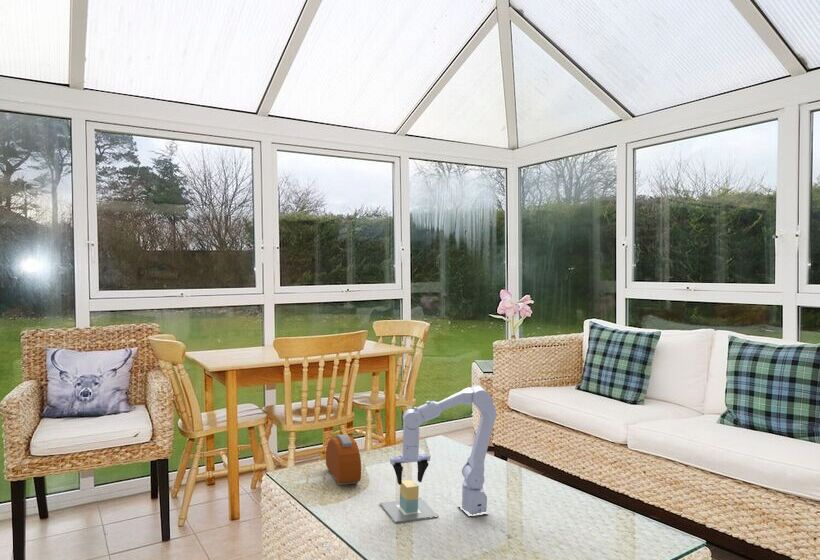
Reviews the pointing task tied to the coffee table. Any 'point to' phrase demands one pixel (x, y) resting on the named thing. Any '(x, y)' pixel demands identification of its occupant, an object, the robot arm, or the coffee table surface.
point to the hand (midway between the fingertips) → (409, 482)
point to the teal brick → (408, 505)
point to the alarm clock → (343, 459)
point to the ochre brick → (409, 490)
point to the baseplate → (400, 516)
